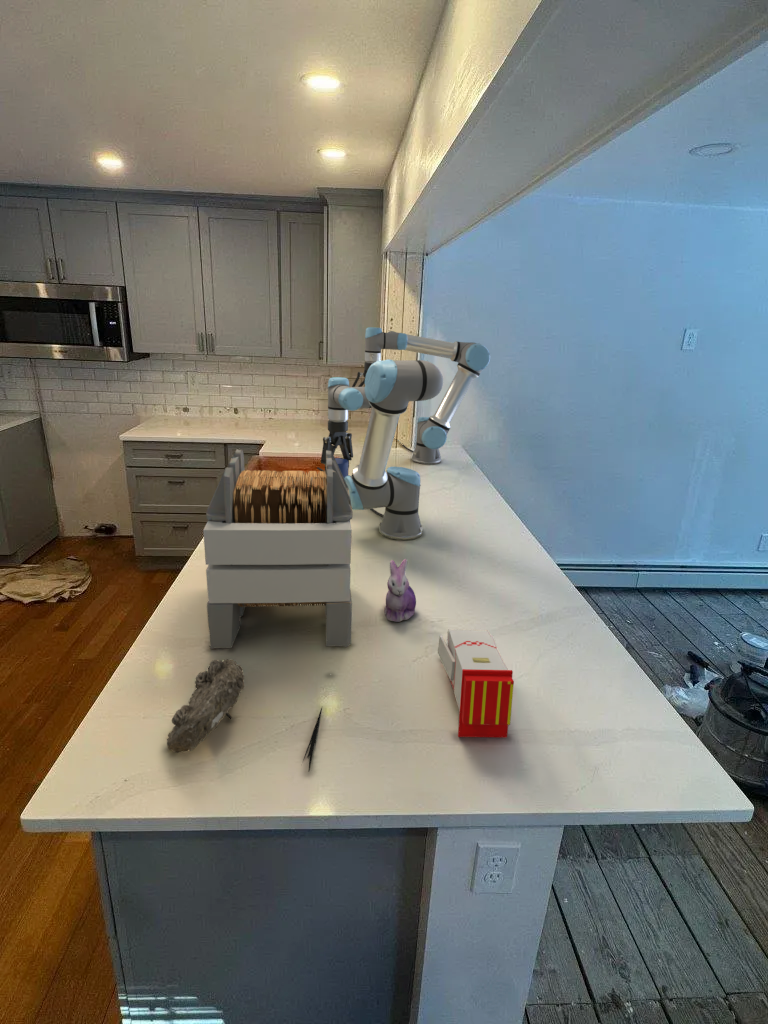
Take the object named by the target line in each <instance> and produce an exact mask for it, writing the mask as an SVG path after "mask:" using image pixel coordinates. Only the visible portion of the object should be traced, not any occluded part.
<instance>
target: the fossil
mask: <svg viewBox="0 0 768 1024" xmlns="http://www.w3.org/2000/svg"><path fill="white" fill-rule="evenodd" d="M243 670H244V669H243V667H242V665H240V664H237V662H236V661H235V660H234V659H232V658H231V659H227V658H226V659H224V660H223V661H222V660H217V659H212V660H211V661H210V663H209V665H208V666H207V671H201V672H199V673H198V674H197V675H196V676H195V680H194V684H195V685H194V687H195V689H194V690H193V693H192V694H191V697H190V698H189V700H188V704H184V705H182V706H181V707H180V709H177V710H176V711H175V713H174V715H173V716H172V718H171V723H172V724H173V727H172V730H171V731H170V732H168V734H167V738H166V741H167V742H166V745H167V749H168V750H169V751H173V752H174V753H176V754H178V753H182V752H188V751H189V752H192V751H193V750H195V748H196V747H197V746H199V744H200V743H201V742H203V741H204V740H205V739H206V738H207V737H208V736H209V735H210V734H211V733H212V732H214V730H215V729H217V727H218V726H219V724H220V722H221V721H222V720H223V719H224V718H225V716H226V717H227V719H229V720H233V717H232V715H230V714H229V710H230V709H231V708H234V706H235V704H236V703H237V702H238V699H239V697H240V695H241V693H242V691H243V690H245V689H244V688H245V675H244V671H243Z"/></svg>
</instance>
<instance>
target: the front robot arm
mask: <svg viewBox="0 0 768 1024" xmlns="http://www.w3.org/2000/svg"><path fill="white" fill-rule="evenodd" d="M364 379H365V383H364V386H362V387H358V386H355V387H352V386H350V380H349V379H348V378H347V377H340V376H335V377H334V376H333V377H330V378H328V382H327V419H328V421H327V430H328V432H329V433H328V436H327V437H326V436H324V437H323V438H322V451H321V455H320V456H321V458H320V464H322V465H324V469H323V468H321V467H316V470H318V471H319V472H320V471H321V472H322V471H323V472H324V471H325V472H326V450H327V451H332V453H333V455H335V452H336V449H338V446H339V449H340V452H341V456H342V459H346V460H348V469H349V468H350V461H352V458H354V450H353V441H352V440H353V439H352V436H353V434H352V433H351V432H348V431H349V421H348V420H349V411H350V412H355V411H357V410H361V409H371V411H370V415H369V419H368V425H367V429H366V432H365V438H364V440H363V441H364V442H363V447H362V450H361V456H360V460H359V464H357V465H355V467H354V468H353V470H352V474H351V475H349V474H348V476H346V477H345V478H344V479H345V481H346V484H347V486H348V488H349V495H350V500H351V507H352V511H364V510H369V511H371V512H372V513H374V514H375V515H377V516H379V517H381V518H382V519H381V522H379V526H378V533H379V534H380V535H381V536H382V537H385V538H387V539H389V540H395V541H410V540H415V539H418V538H420V537H421V536H422V535H423V531H424V527H423V525H422V524H421V518H420V515H419V507H420V506H419V505H420V494H421V493H420V492H421V486H422V485H421V474H420V472H418V471H416V470H414V469H412V468H408V467H404V466H388V467H387V464H388V461H389V457H390V453H391V449H392V447H393V442H394V440H395V438H394V437H395V434H396V431H397V427H398V423H399V421H400V416H401V415H402V414H404V413H406V411H407V410H408V406H409V403H410V402H424V401H428V400H429V401H430V400H432V399H434V398H435V397H437V396H438V395H439V394H440V393H441V391H442V389H443V386H444V378H443V374H442V372H441V370H440V369H439V367H437V366H436V364H434V363H433V362H430V361H428V360H422V359H418V360H417V359H415V360H413V359H411V360H409V359H408V360H407V359H406V360H404V359H403V360H402V359H401V360H399V359H398V360H393V359H389V358H388V359H385V360H381V361H376V362H374V363H373V364H372V365H371V366H370V367H369V369H368V371H367V374H366V377H364ZM381 508H385V509H384V513H381V512H379V511H377V510H375V509H381Z"/></svg>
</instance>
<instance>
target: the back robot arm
mask: <svg viewBox="0 0 768 1024" xmlns="http://www.w3.org/2000/svg"><path fill="white" fill-rule="evenodd" d="M382 350H391V351H392V350H393V351H407V352H412V353H418V354H423V355H429V356H434V357H440V358H445V359H450V360H451V362H455V363H457V365H456V366H457V372H456V373H455V375H454V377H453V379H452V381H451V383H450V384H449V386H448V388H447V390H446V392H445V394H444V396H443V398H442V399H441V402H440V403H439V404H438V407H437V409H436V411H435V413H434V414H433V415H430V416H420V417H418V418H417V422H416V424H417V427H416V441H415V442H416V443H415V448H414V449H413V450H412V449H410V448H409V447H407V446H406V445H404V444H403V445H402V444H401V446H402V447H403V448H404V449H406V450H407V451H409V452H411V453H412V455H411V462H413V463H416V464H422V465H437V464H440V463H441V462H442V457H441V453H440V452H441V451H440V449H441V448H442V447H443V446H444V445H445V444H446V442H447V438H448V436H447V435H448V434H449V432H450V430H451V421H452V420H453V418H454V416H455V414H456V412H457V410H458V409H459V407H460V405H461V403H462V401H463V400H464V398H465V396H466V395H467V393H468V391H469V389H470V388H471V384H472V383H473V381H474V379H476V378H479V377H480V375H481V373H482V372H483V370H485V369H486V367H488V365H490V361H491V353H490V351H489V349H488V347H487V346H485V345H484V344H481V343H480V342H479V343H477V342H474V341H473V342H465V341H458V340H455V341H454V342H451V341H445V340H441V339H434V338H430V337H424V336H418V335H414V334H409V333H406V332H405V333H404V332H397V331H394V330H389V331H388V332H383V329H382V327H375V326H373V327H372V326H368V327H366V328H365V335H364V361H365V362H364V363H363V364H364V365H363V366H364V367H363V372H361V371H357V374H356V378H355V380H354V381H353V384H352V385H351V387H356V385H357V383H358V382H359V379H360V378H361V377H362V376H363V377H364V379H363V380H362V381H361V383H360V384H359V385H358V386H357V387H364V386H365V377H366V374H367V371H368V369H369V367H370V366H371V365H372V364H373V363H374V362H376V361H382V360H381V359H382Z"/></svg>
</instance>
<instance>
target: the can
mask: <svg viewBox="0 0 768 1024" xmlns="http://www.w3.org/2000/svg"><path fill="white" fill-rule="evenodd" d="M334 458H335V460H336V462H337V464H338V466H339V468H340V471H341V473H342V475H343V477H344V478H345V477H346V476H348V475H349V468H348V460H346V459H344V458H343V457H342V458H341V457H334Z"/></svg>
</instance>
